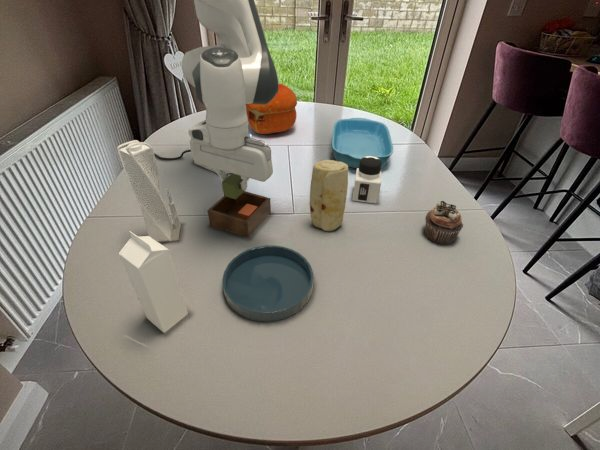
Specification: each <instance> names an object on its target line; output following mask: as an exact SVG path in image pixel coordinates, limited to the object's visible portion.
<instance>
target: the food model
mask: <svg viewBox="0 0 600 450" xmlns="http://www.w3.org/2000/svg"><path fill="white" fill-rule="evenodd" d="M310 179H311V180H310V186H309V187H310V189H309V213H310V219H311V222H312V225H313V227H315V228H318V229H322V230H323V231H324V232H333V231H335V230H336V229H338V228H339V227H340V226H341V225H342V224H343V222H344V216H345V215H344V214H345V210H346V205H347V204H346V203H347V197H348V196H347V195H348V187H349V167H348V165H347V164H345V163H343V162H338V161H337V160H333V159H332V160H331V159H325V160H324V159H323V160H320V161H318V162H316V163H314V164H313V166H312V172H311V178H310Z"/></svg>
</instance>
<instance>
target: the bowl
mask: <svg viewBox="0 0 600 450" xmlns="http://www.w3.org/2000/svg"><path fill="white" fill-rule="evenodd" d="M314 278H315V277H314V270H313V268H312V265H311V264H310V262H309V261H308V259H307V258H306V257H305V256H303V255H302V254H301V253H300V252H298V251H296V250H295V249H292V248H289V247H287V246H281V245H268V244H267V245H266V244H265V245H260V246H259V245H258V246H254V247H252V248H249V249H246V250H244V251H242V252H240V253H239V254H237V255H236V256H234V257H233V258H232V260H231V261H230V262H229V263H228V264H227V266H226V267H225V269H224V271H223V275H222V280H221V281H222V289H223V294H224V298H225V300H226V302H227V304H228V305H229V307H230V308H231V309H232V310H233V311H234V312H235V313H237V314H238V315H240V316H241V317H244V318H245V319H248V320H252V321H256V322H265V323H266V322H276V321H280V320H285V319H287V318H290V317H292V316H294V315H295V314H297V313H298V312H300V311H301V310H302V309H303V308H304V307H305V306H306V304H308V302H309V301H310V299H311V296H312V294H313V289H314Z"/></svg>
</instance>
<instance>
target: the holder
mask: <svg viewBox="0 0 600 450" xmlns="http://www.w3.org/2000/svg"><path fill="white" fill-rule="evenodd" d="M246 204H250V205H254V206H257V207H258V209H257V210H256V211H255V212H254V213H253V214H252V215H251V216H250V217H249V218H248V219H247V220H244V219H240V218H239V216H238V212H239V211H240V210H241V209H242V208H243V207H244V206H245V205H246ZM271 206H272V205H271V198H270V197H267V196H264V195H260V194H257V193H252V192H249V191H247V190H245V191H244V192H243V193H242V194H241V195H240V196H239V197H238V198H237V199H233V198H229V197H226V196H224V195H223V196H222V197H221V198H220V199H218V200H217V201H216V202H215V203H214V204H213V205H212V206H211V207H209V208H208V209H207V217H208V222H209V227H211V228H214V229H217V230H220V231H223V232H226V231H227V232H230V233H232V234H233V233H234V234H236V235H239V236H243V237H245V238H250V237H251V236H252V235H253V233H254V232H255V231H256V230H257V229H258V228H259V227H260V226H261V224H262V223H264V221H265V220H266V219H267V218H268V216H270V215H272V208H271Z"/></svg>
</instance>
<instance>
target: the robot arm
mask: <svg viewBox="0 0 600 450" xmlns="http://www.w3.org/2000/svg"><path fill="white" fill-rule="evenodd" d="M193 4H194V8H195V14H196V18H197V20H198V22H199V23H200V25H201V26H202V27H203V28H205V29H206V30H208V31H210V32H213V33H214V34H215V35H216V37H217V39H218V42H219V44H217V45H208V46H207V45H206V46H200V47H196V48H193V49H191V50H188V51H186V52H185V53H184V54H183V57H182V59H181V71H182V74H183V76H184V78H185V80H186V81H187V82H188V84H189V85H191V86H192V87H194V88H195V94H196V95H195V97H196V100H197V101H199V103H200V104H202V106H204V107H205V112H206V114H205V120H202V121H200V122H198V123H197V124H195V125H193V126H191V127H190V128H188V131H187V132H188V136H189V138H190V139H189V147H190V149H186V150H184V151H182V152H181V154H180V155H179V156H176V157H162V156H159V155H158V154H156V153H155V152H154V155H155V158H157V159H159V160H163V161H164V160H165V161H174V160H175V161H176V160H180V159H182V158H183V157H184V155H186V153H191V158H192V160H193V164H194V165H196V166H199V167H201V168H204V169H206V170H208V171H211V172H213V173H215V174H217V176H218V177H219V179H220V183H221V184H222V181H224V180H225V179H226V178H227V177H228V176H229V174H232V173H233V174H237V175H240V176H241V179H243V180H242V181H240V182H239V183H238V188H239V189H241V190H245V189H246V190H247V188H248V181H249V179H251V180H255V181H257V182H261V183H264V182H266V181H268V180H269V179H270V178H271V177H272V175H273V173H274V168H273V161H272V160H273V159H272V148H271V147H270V145H268V143H266V141H265V140H262V139H256V138H253V137H252V134H251V133H250V124H249V122H248V117H247V111H246V104H251V103H252V104H264V105H266V104H268V103H269V102H270V101H271V100H272V99H273V98H274V97H275V96H276V94H277V93H278V86H279V84H280V82H279V81H280V80H279V76H278V72H277V69H276V66H275V63H274V60H273V58H272V55H271V53H270V50H269V46H268V43H267V40H266V36H265V33H264V30H263V25H262V22H261V18H260V16H259V12H258V9H257V5H256V2H255V0H193ZM246 190H245V191H246Z"/></svg>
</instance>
